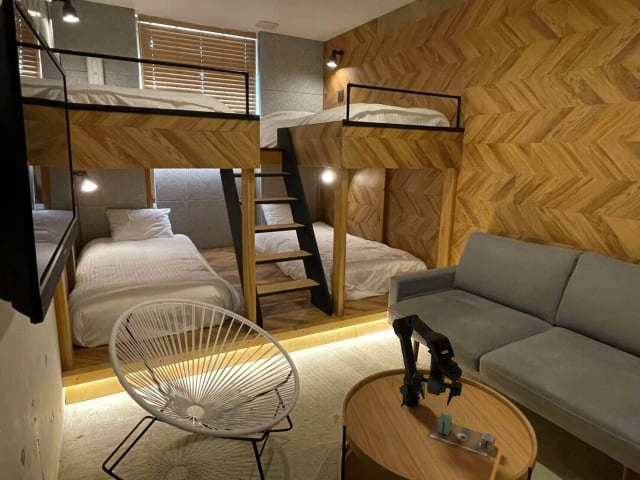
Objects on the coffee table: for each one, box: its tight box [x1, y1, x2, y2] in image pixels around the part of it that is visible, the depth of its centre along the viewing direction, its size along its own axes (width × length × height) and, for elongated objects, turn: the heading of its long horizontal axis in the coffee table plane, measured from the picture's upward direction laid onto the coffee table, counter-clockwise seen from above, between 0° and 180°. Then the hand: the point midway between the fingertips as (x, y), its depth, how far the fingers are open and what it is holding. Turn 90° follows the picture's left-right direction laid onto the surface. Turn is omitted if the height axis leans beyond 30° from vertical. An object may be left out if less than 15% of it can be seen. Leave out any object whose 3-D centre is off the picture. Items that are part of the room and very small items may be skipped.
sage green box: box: [438, 412, 453, 435], centre depth 169 cm, size 4×4×6 cm
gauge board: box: [426, 417, 497, 460], centre depth 166 cm, size 24×13×5 cm, turn 58°
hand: (435, 402), depth 171 cm, fingers open, 9 cm apart
